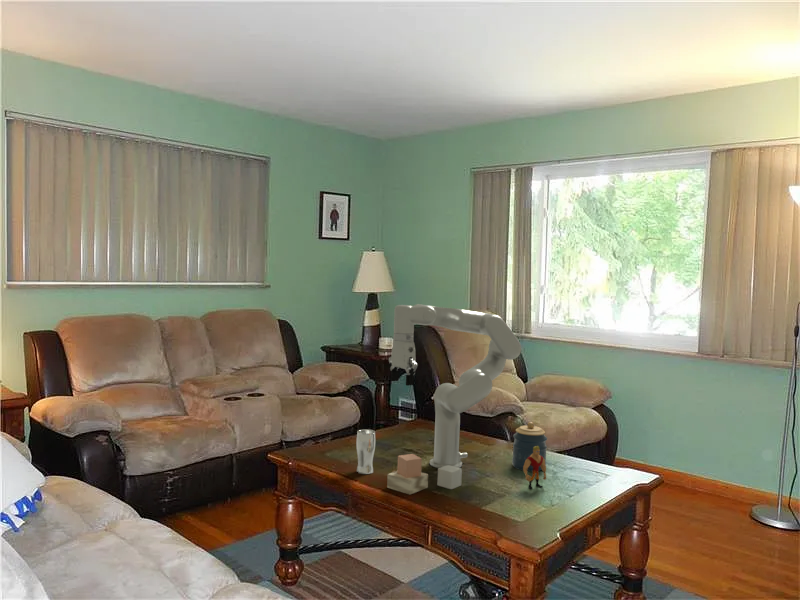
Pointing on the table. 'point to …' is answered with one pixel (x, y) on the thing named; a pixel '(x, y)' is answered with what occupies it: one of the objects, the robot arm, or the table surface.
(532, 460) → the action figure
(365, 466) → the beer glass
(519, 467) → the canister
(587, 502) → the table surface
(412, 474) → the terracotta block
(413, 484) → the ash base block
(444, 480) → the grey block
